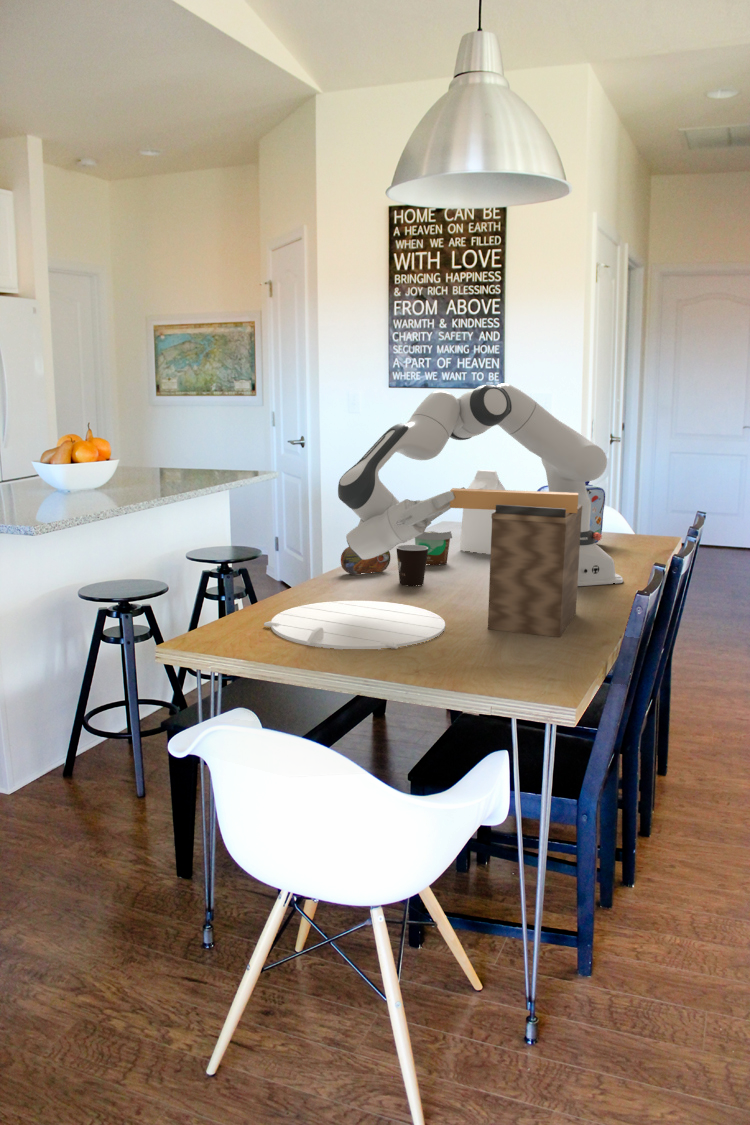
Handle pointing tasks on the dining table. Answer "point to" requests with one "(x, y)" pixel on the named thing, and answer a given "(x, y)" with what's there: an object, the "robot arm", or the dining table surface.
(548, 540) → the walnut stand
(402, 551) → the coffee mug
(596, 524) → the lunch box
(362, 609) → the lazy susan
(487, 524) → the milk
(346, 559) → the tin
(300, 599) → the dining table surface
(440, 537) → the food container
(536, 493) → the orange block
